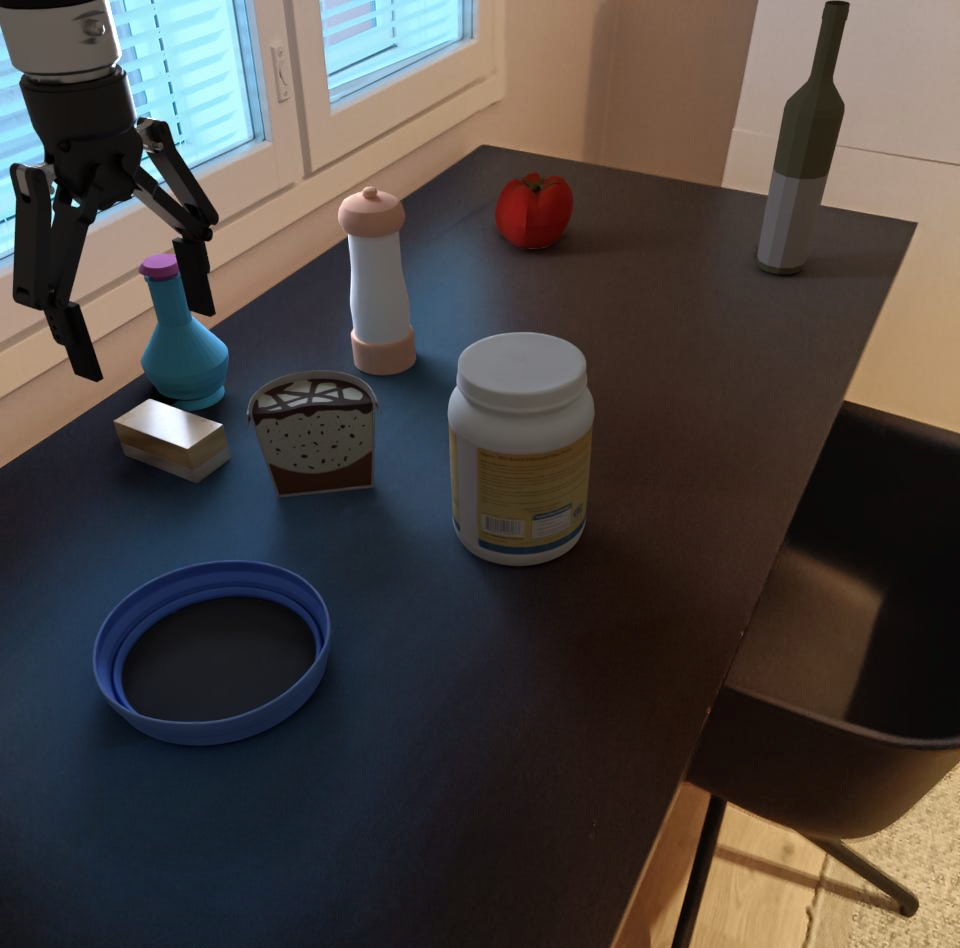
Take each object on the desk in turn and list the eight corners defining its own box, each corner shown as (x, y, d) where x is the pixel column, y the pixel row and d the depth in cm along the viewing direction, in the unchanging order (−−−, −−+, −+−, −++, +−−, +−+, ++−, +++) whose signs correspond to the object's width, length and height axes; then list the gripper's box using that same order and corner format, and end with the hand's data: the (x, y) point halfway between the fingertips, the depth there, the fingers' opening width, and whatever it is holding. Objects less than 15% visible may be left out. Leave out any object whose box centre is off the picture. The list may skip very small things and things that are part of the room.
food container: (383, 451, 95) (374, 361, 88) (389, 485, 91) (380, 394, 84) (261, 463, 94) (242, 373, 86) (261, 499, 89) (241, 408, 82)
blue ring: (95, 774, 66) (80, 743, 64) (113, 607, 79) (100, 575, 76) (346, 732, 69) (341, 701, 66) (325, 576, 81) (319, 545, 79)
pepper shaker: (347, 350, 110) (327, 180, 96) (407, 340, 111) (394, 171, 98) (361, 380, 105) (341, 205, 91) (423, 369, 107) (412, 195, 93)
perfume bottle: (160, 424, 99) (120, 287, 88) (145, 384, 105) (106, 252, 94) (245, 405, 101) (216, 270, 91) (225, 367, 107) (196, 236, 97)
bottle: (766, 281, 122) (824, 11, 101) (743, 260, 127) (794, -2, 105) (815, 275, 123) (882, 7, 102) (791, 254, 128) (850, -6, 107)
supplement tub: (611, 528, 86) (631, 360, 74) (521, 591, 79) (526, 419, 68) (515, 475, 92) (518, 311, 80) (425, 530, 86) (414, 362, 74)
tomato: (575, 231, 134) (579, 167, 128) (562, 262, 127) (566, 196, 121) (504, 225, 136) (504, 162, 130) (487, 255, 129) (487, 190, 123)
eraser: (124, 455, 95) (112, 421, 92) (159, 431, 98) (149, 398, 95) (197, 483, 91) (187, 449, 88) (231, 458, 94) (222, 424, 91)
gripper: (-45, 124, 58) (66, 420, 73) (227, 37, 73) (273, 297, 88) (-118, 106, 61) (3, 395, 76) (159, 26, 76) (214, 280, 91)
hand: (148, 343), depth 82 cm, fingers open, 13 cm apart
